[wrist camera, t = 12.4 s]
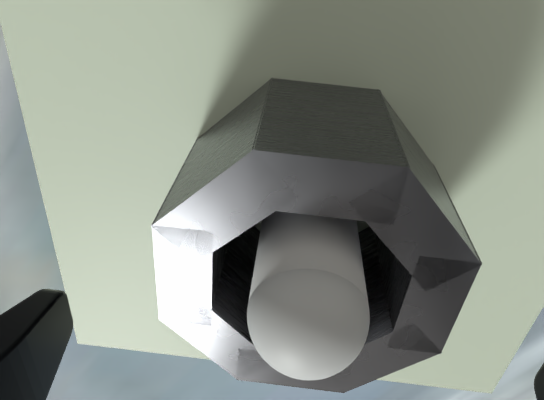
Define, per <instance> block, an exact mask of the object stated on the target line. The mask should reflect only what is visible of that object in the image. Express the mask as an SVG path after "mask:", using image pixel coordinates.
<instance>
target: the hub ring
mask: <svg viewBox="0 0 544 400" xmlns="http://www.w3.org/2000/svg"><path fill="white" fill-rule="evenodd" d="M275 211H279V212H288V213H297V214H305V215H314V216H323V217H331V218H340V219H349V220H358V221H365V222H366V223H367V224H368V225H369V227H367V228H366V229H364V230H362V231H360V232H359V233H358V234H359V241H360V248H361V255H362V262H363V269H364V276H365V283H366V290H367V297H368V304H369V312H370V325H369V331H368V336H367V339H366V342H365V344H364V346H363V348H362V350H361V352H360V353H359V355H358V356H357V357H356V359H355V360H354V361H353V362H352V363H351V364H350V365H349V366H348V367H346V368H345V369H344V370H343V371H341V372H339V373H337V374H335V375H333V376H331V377H328V378H325V379H320V380H299V379H294V378H291V377H288V376H286V375H284V374H282V373H280V372H278V371H276V370H275V369H273V368H272V367H271V366H270V365H269V364H268V363H267V362H266V361H264V359H263V358H262V357H261V356H260V354H259V353H258V352H257V350H256V348H255V346H254V344H253V342H252V340H251V337H250V334H249V330H248V325H247V307H248V301H249V295H250V289H251V283H252V277H253V271H254V266H255V260H256V254H257V248H258V242H259V236H260V231H259V230H258V229H257V228H256V227H255V226H254V225H255V224H257V223H258V222H260V221H262V220H263V219H265V218H266V217H268V216H269V215H271V214H272V213H274V212H275ZM151 227H152V237H153V250H154V262H155V275H156V287H157V299H158V312H159V318H158V319H159V320H161V321H162V322H163V323H165V324H166V325H167V326H168V327H170V328H171V329H172V330H174V331H175V332H176V333H178V334H179V335H180V336H181V337H183V338H184V339H185V340H187V341H188V342H189V343H190V344H192V345H193V346H194V347H196V348H197V349H198V350H200V351H201V352H202V353H203V354H205V355H206V356H207V357H209V358H210V359H211V360H212V361H214V362H215V363H216V364H218V365H219V366H220V367H222V368H223V369H224V370H225V371H227V372H228V373H229V374H231V375H232V376H233V377H234V378H236V379H237V380H243V381H251V382H259V383H267V384H275V385H284V386H292V387H300V388H308V389H316V390H324V391H332V392H341V393H344V392H347V391H349V390H352V389H354V388H356V387H359V386H361V385H364V384H366V383H369V382H371V381H374V380H376V379H379V378H381V377H384V376H386V375H389V374H391V373H394V372H396V371H398V370H401V369H403V368H406V367H408V366H411V365H413V364H416V363H418V362H421V361H423V360H426V359H428V358H431V357H433V356H436V355H438V354H441V353H442V350H443V348H444V346H445V344H446V341H447V339H448V337H449V335H450V333H451V330H452V328H453V326H454V324H455V322H456V319H457V317H458V315H459V313H460V311H461V308H462V306H463V304H464V302H465V300H466V297H467V295H468V293H469V291H470V289H471V286H472V284H473V282H474V280H475V278H476V276H477V273H478V271H479V269H480V267H481V265H482V262H481V260H480V258H479V256H478V254H477V251H476V249H475V247H474V245H473V243H472V241H471V239H470V237H469V235H468V233H467V231H466V229H465V227H464V225H463V223H462V221H461V219H460V217H459V215H458V213H457V211H456V208H455V206H454V204H453V202H452V200H451V198H450V196H449V194H448V192H447V190H446V188H445V186H444V184H443V182H442V180H441V178H440V176H439V174H438V172H437V170H436V168H435V165H434V164H432V162H431V161H430V159H429V158H428V157H427V155H426V154H425V153H424V151H423V150H422V148H421V147H420V146H419V144H418V143H417V141H416V140H415V139H414V137H413V136H412V135H411V133H410V132H409V130H408V129H407V128H406V126H405V125H404V124H403V122H402V121H401V119H400V118H399V117H398V115H397V114H396V112H395V111H394V110H393V108H392V107H391V106H390V104H389V103H388V101H387V100H386V99H385V97H384V96H383V94H382V93H381V91H380V90H379V89H368V88H359V87H350V86H341V85H332V84H323V83H313V82H304V81H295V80H286V79H277V78H273V77H272V78H271V79H270V80H269V81H267V82H266V83H265V84H264V85H263V86H261V87H260V88H259V89H258V90H256V91H255V92H254V93H253V94H251V95H250V96H249V97H248V98H247V99H245V100H244V101H243V102H242V103H240V104H239V105H238V106H237V107H236V108H234V109H233V110H232V111H231V112H229V113H228V114H227V115H226V116H224V117H223V118H222V119H221V120H220V121H218V122H217V123H216V124H215V125H213V126H212V127H211V128H210V129H209V130H207V131H206V132H205V133H204V134H202V135H201V136H200V137H199V138H197V139H196V141H195V143H194V145H193V147H192V149H191V150H190V152H189V154H188V156H187V158H186V160H185V162H184V164H183V166H182V168H181V169H180V171H179V173H178V175H177V177H176V179H175V181H174V183H173V185H172V187H171V188H170V190H169V192H168V194H167V196H166V198H165V200H164V202H163V204H162V206H161V207H160V209H159V211H158V213H157V215H156V217H155V219H154V221H153V223H152V225H151Z"/></svg>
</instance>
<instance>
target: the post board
mask: <svg viewBox="0 0 544 400" xmlns="http://www.w3.org/2000/svg"><path fill="white" fill-rule="evenodd" d="M0 23H1V27H2V31H3V35H4V39H5V44H6V48H7V52H8V56H9V60H10V64H11V69H12V73H13V77H14V81H15V85H16V89H17V93H18V98H19V102H20V106H21V110H22V114H23V118H24V122H25V127H26V131H27V135H28V139H29V143H30V147H31V152H32V156H33V160H34V164H35V168H36V172H37V176H38V181H39V185H40V189H41V193H42V197H43V201H44V206H45V210H46V214H47V218H48V222H49V226H50V230H51V235H52V239H53V243H54V247H55V251H56V255H57V259H58V264H59V268H60V272H61V276H62V280H63V284H64V289H65V293H66V294H67V297H68V301H69V305H70V310H71V314H72V318H73V326H74V330H75V334H76V338H77V342H78V344H86V345H94V346H102V347H111V348H119V349H127V350H136V351H144V352H152V353H160V354H169V355H177V356H185V357H194V358H202V359H210V358H209V357H207V356H206V355H205V354H203V353H202V352H201V351H200V350H198V349H197V348H196V347H194V346H193V345H192V344H190V343H189V342H188V341H187V340H185V339H184V338H183V337H181V336H180V335H179V334H178V333H176V332H175V331H174V330H172V329H171V328H170V327H168V326H167V325H166V324H165V323H163V322H162V321H161V320H159V319H158V318H159V312H158V299H157V287H156V275H155V262H154V250H153V237H152V227H151V225H152V223H153V221H154V219H155V217H156V215H157V213H158V211H159V209H160V207H161V206H162V204H163V202H164V200H165V198H166V196H167V194H168V192H169V190H170V188H171V187H172V185H173V183H174V181H175V179H176V177H177V175H178V173H179V171H180V169H181V168H182V166H183V164H184V162H185V160H186V158H187V156H188V154H189V152H190V150H191V149H192V147H193V145H194V143H195V141H196V139H197V138H199V137H200V136H201V135H202V134H204V133H205V132H206V131H207V130H209V129H210V128H211V127H212V126H213V125H215V124H216V123H217V122H218V121H220V120H221V119H222V118H223V117H224V116H226V115H227V114H228V113H229V112H231V111H232V110H233V109H234V108H236V107H237V106H238V105H239V104H240V103H242V102H243V101H244V100H245V99H247V98H248V97H249V96H250V95H251V94H253V93H254V92H255V91H256V90H258V89H259V88H260V87H261V86H263V85H264V84H265V83H266V82H267V81H269V80H270V79H271V78H272V77H273V78H277V79H286V80H295V81H304V82H313V83H323V84H332V85H341V86H350V87H359V88H368V89H379V90H380V91H381V93H382V94H383V96H384V97H385V99H386V100H387V101H388V103H389V104H390V106H391V107H392V108H393V110H394V111H395V112H396V114H397V115H398V117H399V118H400V119H401V121H402V122H403V124H404V125H405V126H406V128H407V129H408V130H409V132H410V133H411V135H412V136H413V137H414V139H415V140H416V141H417V143H418V144H419V146H420V147H421V148H422V150H423V151H424V153H425V154H426V155H427V157H428V158H429V159H430V161H431V162H432V164H434V165H435V168H436V170H437V172H438V174H439V176H440V178H441V180H442V182H443V184H444V186H445V188H446V190H447V192H448V194H449V196H450V198H451V200H452V202H453V204H454V206H455V208H456V211H457V213H458V215H459V217H460V219H461V221H462V223H463V225H464V227H465V229H466V231H467V233H468V235H469V237H470V239H471V241H472V243H473V245H474V247H475V249H476V251H477V254H478V256H479V258H480V260H481V262H482V265H481V267H480V269H479V271H478V273H477V276H476V278H475V280H474V282H473V284H472V286H471V289H470V291H469V293H468V295H467V297H466V300H465V302H464V304H463V306H462V308H461V311H460V313H459V315H458V317H457V319H456V322H455V324H454V326H453V328H452V330H451V333H450V335H449V337H448V339H447V341H446V344H445V346H444V348H443V350H442V353H441V354H438V355H436V356H433V357H431V358H428V359H426V360H423V361H421V362H418V363H416V364H413V365H411V366H408V367H406V368H403V369H401V370H398V371H396V372H394V373H391V374H389V375H386V376H384V377H381V378H379V379H376V380H384V381H392V382H401V383H409V384H417V385H426V386H434V387H442V388H450V389H459V390H467V391H475V392H484V393H492V392H493V390H494V389H495V387H496V385H497V384H498V382H499V380H500V379H501V377H502V375H503V374H504V372H505V370H506V369H507V367H508V365H509V364H510V362H511V360H512V358H513V357H514V355H515V353H516V352H517V350H518V348H519V347H520V345H521V343H522V342H523V340H524V338H525V337H526V335H527V333H528V332H529V330H530V328H531V327H532V325H533V323H534V322H535V320H536V318H537V316H538V315H539V313H540V311H541V310H542V308H543V306H544V0H0ZM254 226H255V227H256V228H257V229H258V230H259V231H260V236H259V242H258V248H257V254H256V260H255V266H254V271H253V277H252V283H251V289H250V295H249V301H248V307H247V325H248V330H249V334H250V337H251V340H252V342H253V344H254V346H255V348H256V350H257V352H258V353H259V354H260V356H261V357H262V358H263V359H264V361H266V362H267V363H268V364H269V365H270V366H271V367H272V368H273V369H275V370H276V371H278V372H280V373H282V374H284V375H286V376H288V377H291V378H294V379H299V380H320V379H325V378H328V377H331V376H333V375H335V374H337V373H339V372H341V371H343V370H344V369H345V368H346V367H348V366H349V365H350V364H351V363H352V362H353V361H354V360H355V359H356V357H357V356H358V355H359V353H360V352H361V350H362V348H363V346H364V344H365V342H366V339H367V336H368V331H369V325H370V312H369V304H368V297H367V290H366V283H365V276H364V269H363V262H362V255H361V248H360V241H359V234H358V233H359V232H360V231H362V230H364V229H366V228H367V227H369V225H368V224H367V223H366V222H365V221H358V220H349V219H340V218H331V217H323V216H314V215H305V214H297V213H288V212H279V211H275V212H274V213H272V214H271V215H269V216H268V217H266V218H265V219H263V220H262V221H260V222H258V223H257V224H255V225H254ZM210 360H211V359H210Z"/></svg>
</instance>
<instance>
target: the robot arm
mask: <svg viewBox="0 0 544 400" xmlns="http://www.w3.org/2000/svg"><path fill="white" fill-rule="evenodd" d="M72 329H73V318H72V314H71V310H70V305H69V301H68V297H67V294H66V293H65V292H64V291H60V290H52V289H42V290H39V291H37V292H36V293H34V294H33V295H31V296H29V297H28V298H26V299H25V300H23V301H22V302H20V303H18V304H17V305H15V306H14V307H12V308H11V309H9V310H7V311H6V312H4V313H3V314H1V315H0V400H46V398H47V396H48V393H49V390H50V388H51V385H52V383H53V380H54V377H55V375H56V372H57V370H58V367H59V364H60V362H61V359H62V357H63V354H64V352H65V349H66V346H67V344H68V341H69V339H70V336H71V333H72ZM534 389H535V394H536V398H537V400H544V364H543V365H542V367H541V368H540V370H539V371H538V373H537V374H536V376H535V380H534Z"/></svg>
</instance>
